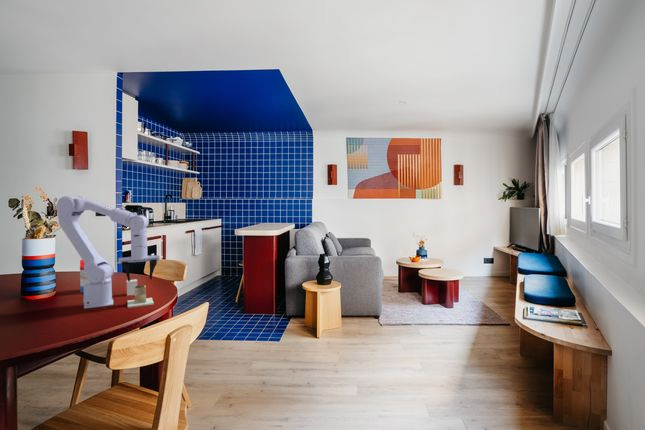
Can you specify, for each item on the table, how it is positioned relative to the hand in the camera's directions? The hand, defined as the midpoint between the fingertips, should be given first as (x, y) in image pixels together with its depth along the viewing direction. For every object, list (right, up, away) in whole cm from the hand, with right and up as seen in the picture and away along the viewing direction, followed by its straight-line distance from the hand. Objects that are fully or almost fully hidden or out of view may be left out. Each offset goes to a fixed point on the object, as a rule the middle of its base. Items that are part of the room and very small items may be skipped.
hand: (139, 279), depth 144 cm
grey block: (-11, -9, +15) cm, 20 cm away
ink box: (-32, -9, +21) cm, 39 cm away
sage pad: (0, -9, 0) cm, 9 cm away
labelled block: (0, -9, +1) cm, 9 cm away
